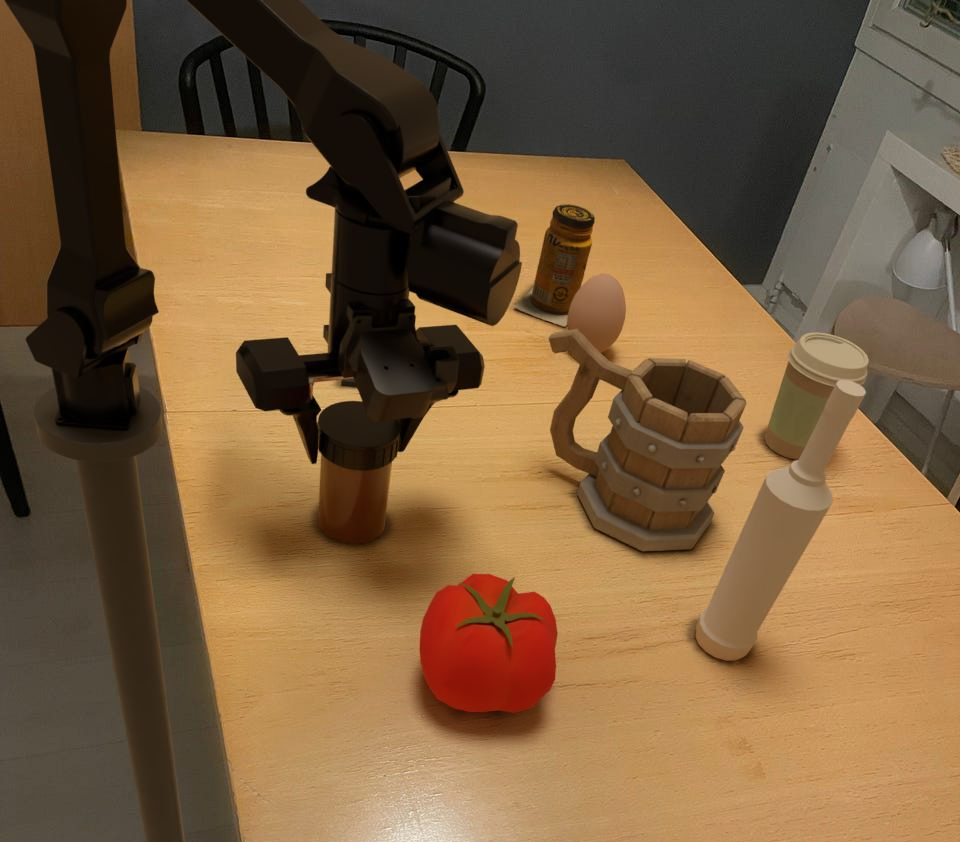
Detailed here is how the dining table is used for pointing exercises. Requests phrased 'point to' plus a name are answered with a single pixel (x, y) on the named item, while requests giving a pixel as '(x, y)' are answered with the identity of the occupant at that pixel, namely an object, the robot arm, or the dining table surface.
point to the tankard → (649, 444)
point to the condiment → (560, 264)
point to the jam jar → (353, 502)
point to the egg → (598, 311)
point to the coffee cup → (811, 388)
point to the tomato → (488, 646)
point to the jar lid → (356, 437)
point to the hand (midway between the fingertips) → (356, 455)
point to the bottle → (775, 535)
